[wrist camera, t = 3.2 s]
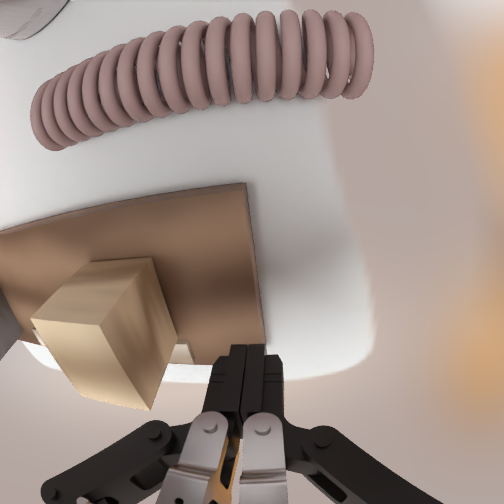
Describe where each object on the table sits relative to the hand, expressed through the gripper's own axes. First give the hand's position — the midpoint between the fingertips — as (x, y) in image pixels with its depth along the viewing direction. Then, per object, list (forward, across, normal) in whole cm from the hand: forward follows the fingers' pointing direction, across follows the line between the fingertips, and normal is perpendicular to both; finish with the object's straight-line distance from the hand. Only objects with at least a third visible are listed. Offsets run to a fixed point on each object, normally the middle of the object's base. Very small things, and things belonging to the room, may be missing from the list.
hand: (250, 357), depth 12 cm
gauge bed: (+6, +14, 0) cm, 15 cm away
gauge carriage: (+4, +9, +1) cm, 10 cm away
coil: (+7, +2, -13) cm, 15 cm away
